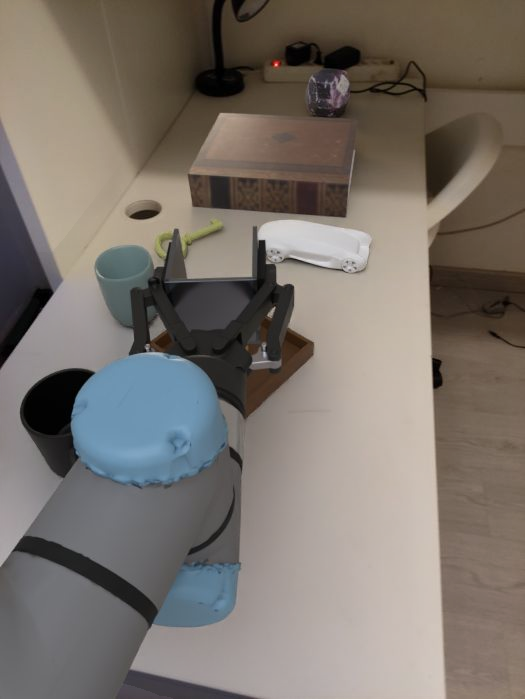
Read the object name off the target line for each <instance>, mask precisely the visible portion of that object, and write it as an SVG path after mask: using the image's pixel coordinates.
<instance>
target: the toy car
mask: <svg viewBox="0 0 525 699" xmlns="http://www.w3.org/2000/svg"><path fill="white" fill-rule="evenodd" d="M259 240H265V242H266V258H267V259H268V260H269V261H270V262H272V263H274V264H275V263H277V264H278V263H281V262H283V261H284V259H296V260H299V261H301V262H305V263H309V264H312V265H316V266H319V267H323V268H328V269H335V270H336V269H338V270H343V271H344V272H346V273H348V274H353V273H357V272H360V271H362V270H364V269H365V268H366V266H367V264H368V258H369V254H370V248H369V246H370V245H371V243H372V241H373V237H372V235H370V234H369V233H368V232H365V231H363V230H360V229H352V228H346V227H339V226H333V225H329V224H323V223H319V222H318V223H317V222H313V221H307V220H301V219H279V220H278V219H277V220H272V221H271V220H270V221H267V222H265V223H264V224H262V225H261V226H260V228H259V230H258V241H259Z"/></svg>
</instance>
